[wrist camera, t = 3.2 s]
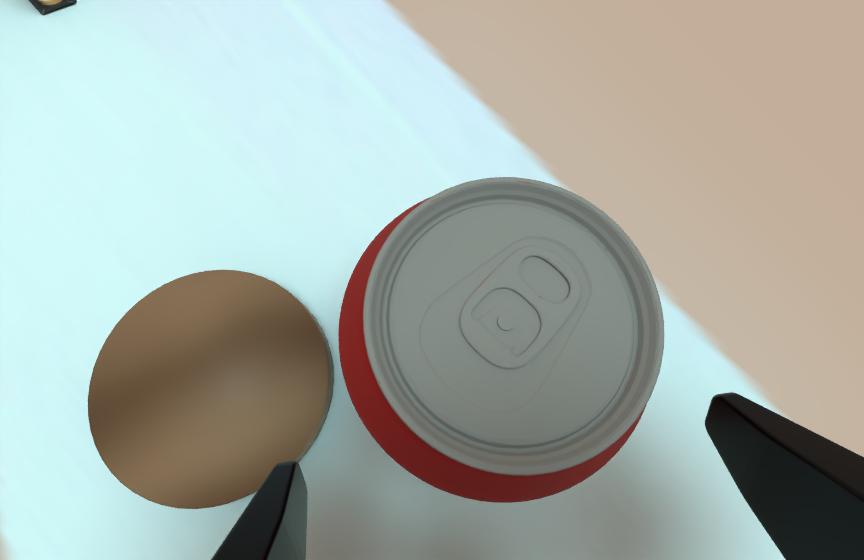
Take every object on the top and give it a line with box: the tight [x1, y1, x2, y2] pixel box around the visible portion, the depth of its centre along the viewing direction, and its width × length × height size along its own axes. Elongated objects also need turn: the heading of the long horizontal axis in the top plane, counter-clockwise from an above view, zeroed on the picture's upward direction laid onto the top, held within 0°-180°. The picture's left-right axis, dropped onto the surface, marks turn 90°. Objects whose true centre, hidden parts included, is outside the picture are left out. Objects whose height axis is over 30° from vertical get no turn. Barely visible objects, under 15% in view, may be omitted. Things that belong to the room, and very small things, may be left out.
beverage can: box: [339, 177, 664, 502], centre depth 14 cm, size 7×7×12 cm
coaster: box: [88, 270, 334, 509], centre depth 18 cm, size 9×9×2 cm
